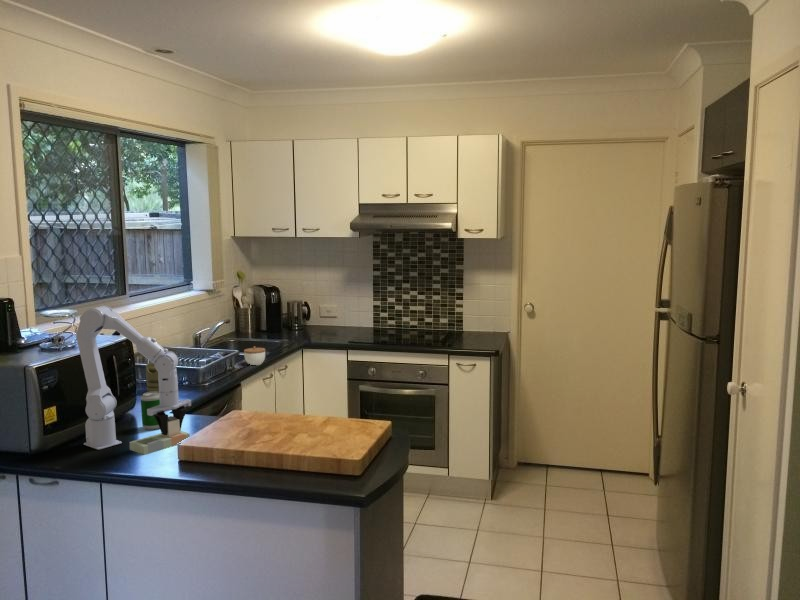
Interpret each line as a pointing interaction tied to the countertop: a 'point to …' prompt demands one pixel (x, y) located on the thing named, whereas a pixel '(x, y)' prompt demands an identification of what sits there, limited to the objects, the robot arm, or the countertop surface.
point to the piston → (152, 378)
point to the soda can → (148, 402)
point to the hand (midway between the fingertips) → (171, 432)
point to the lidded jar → (254, 355)
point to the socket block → (156, 442)
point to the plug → (172, 427)
